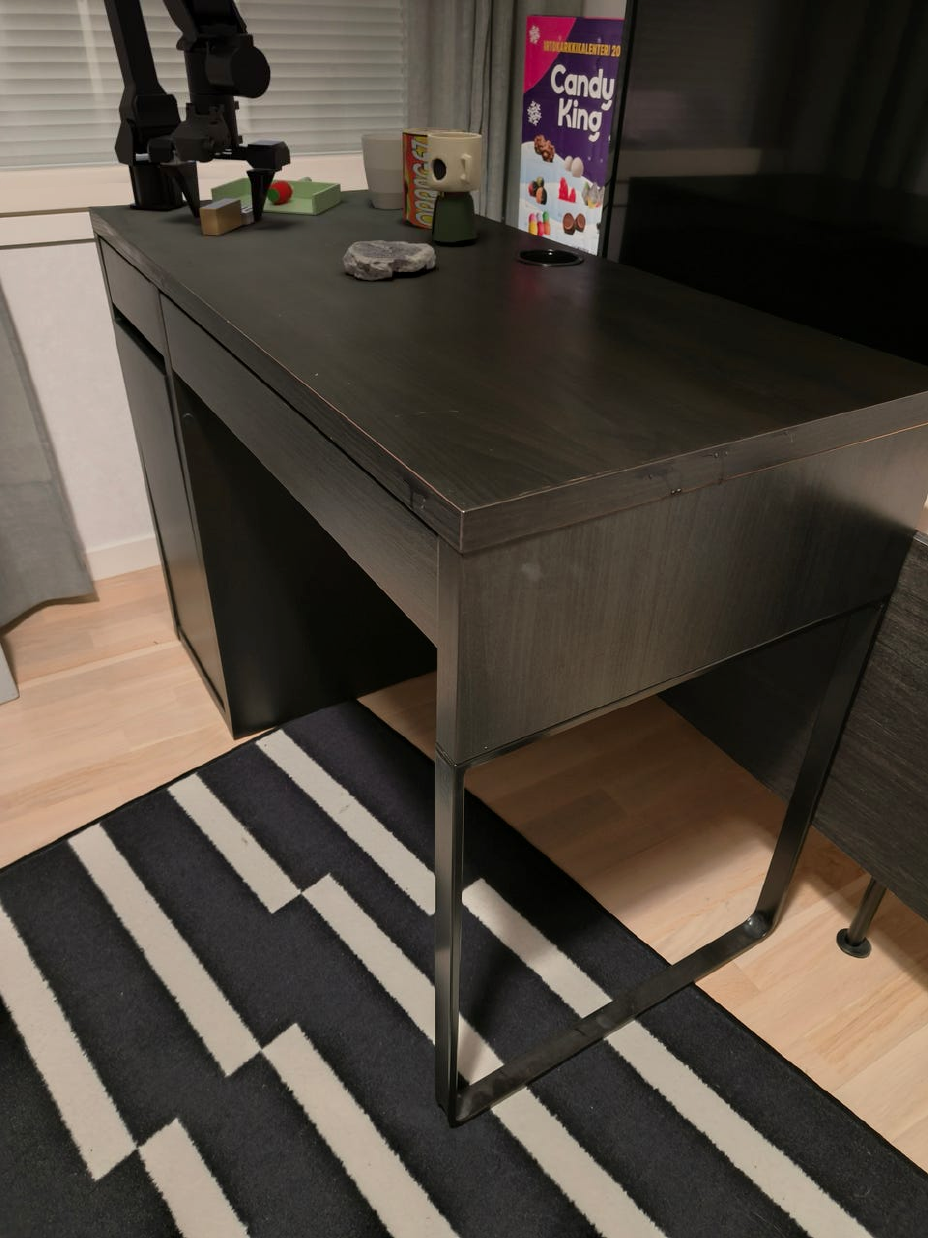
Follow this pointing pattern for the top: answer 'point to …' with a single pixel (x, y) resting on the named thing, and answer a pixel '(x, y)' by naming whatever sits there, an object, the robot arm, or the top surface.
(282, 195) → the strawberry
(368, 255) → the fossil
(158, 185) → the robot arm
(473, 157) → the character mug
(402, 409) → the top surface
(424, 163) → the beverage can
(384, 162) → the cup
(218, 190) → the tray
